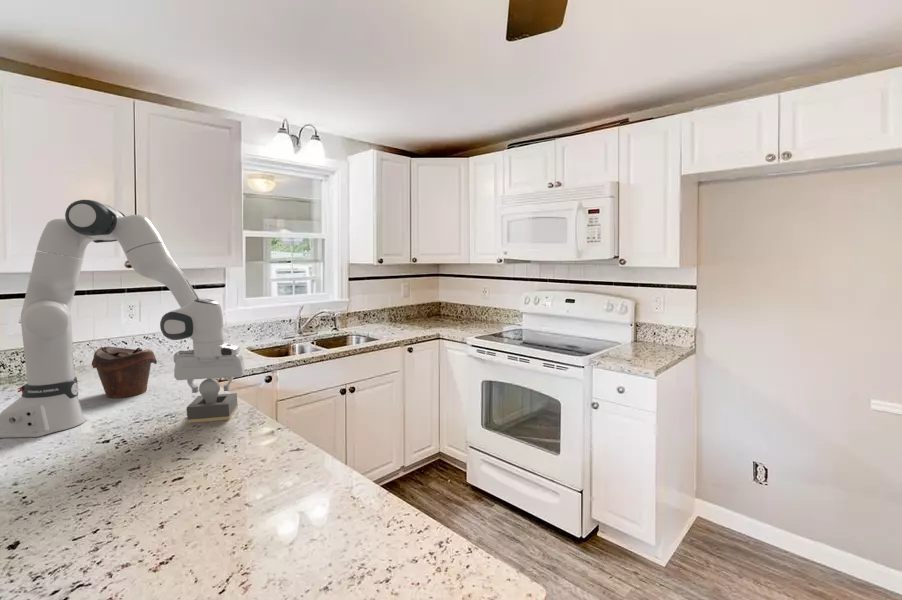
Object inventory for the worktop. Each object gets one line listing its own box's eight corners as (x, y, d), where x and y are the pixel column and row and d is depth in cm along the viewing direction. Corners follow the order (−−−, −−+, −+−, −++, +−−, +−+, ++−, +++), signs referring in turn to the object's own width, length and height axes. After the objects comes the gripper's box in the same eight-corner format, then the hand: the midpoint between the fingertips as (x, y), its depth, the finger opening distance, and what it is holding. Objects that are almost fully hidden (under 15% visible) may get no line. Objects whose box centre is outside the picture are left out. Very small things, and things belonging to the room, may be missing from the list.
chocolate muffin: (160, 393, 173) (156, 346, 171) (93, 404, 162) (88, 354, 160) (158, 383, 188) (154, 340, 186) (96, 392, 177) (92, 346, 175)
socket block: (187, 422, 143) (186, 407, 142) (199, 410, 154) (198, 395, 154) (229, 419, 146) (228, 404, 145) (237, 407, 157) (236, 393, 157)
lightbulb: (213, 415, 146) (210, 381, 145) (196, 414, 147) (193, 381, 146) (226, 408, 152) (223, 376, 151) (210, 408, 153) (207, 376, 152)
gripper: (169, 352, 142) (172, 396, 143) (240, 349, 147) (242, 392, 148) (176, 349, 148) (179, 390, 150) (244, 346, 153) (246, 386, 154)
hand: (211, 391), depth 149 cm, fingers open, 8 cm apart
